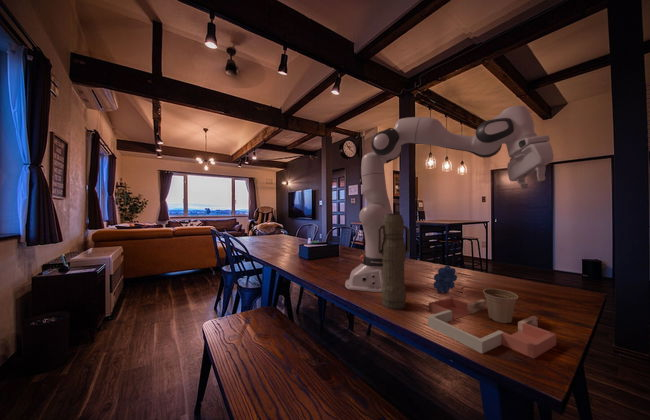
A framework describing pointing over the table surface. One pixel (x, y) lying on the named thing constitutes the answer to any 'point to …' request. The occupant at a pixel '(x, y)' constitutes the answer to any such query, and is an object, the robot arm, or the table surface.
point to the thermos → (393, 260)
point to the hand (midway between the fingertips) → (532, 185)
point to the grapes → (445, 279)
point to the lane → (481, 305)
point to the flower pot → (500, 304)
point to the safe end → (464, 333)
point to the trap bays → (526, 343)
